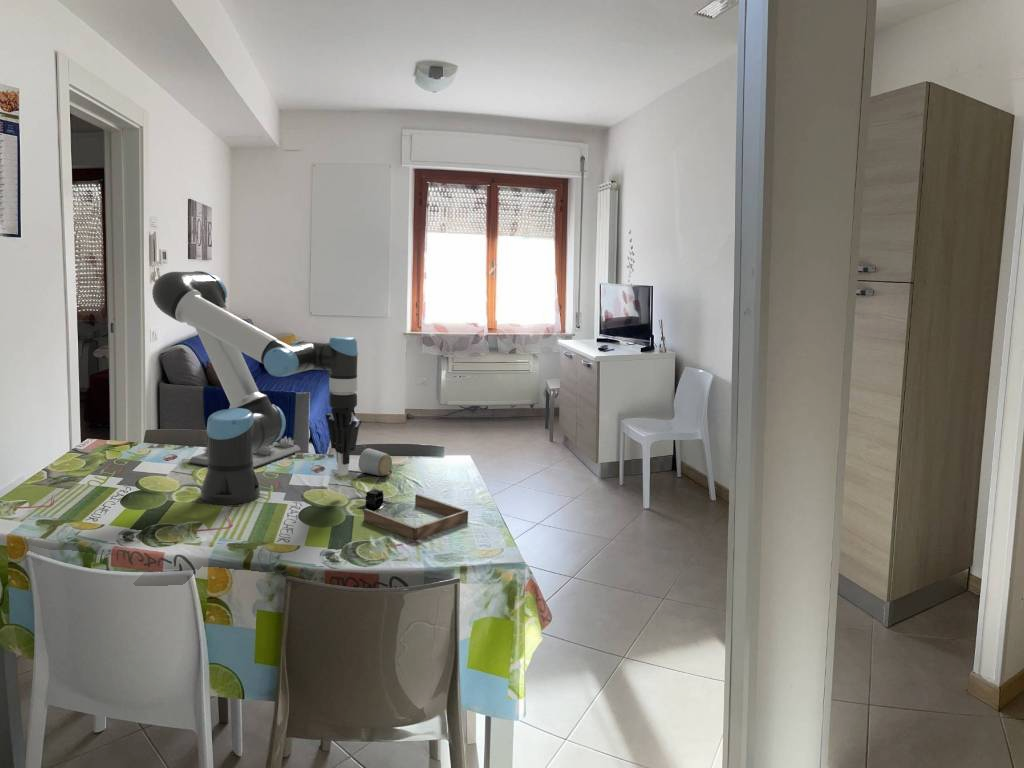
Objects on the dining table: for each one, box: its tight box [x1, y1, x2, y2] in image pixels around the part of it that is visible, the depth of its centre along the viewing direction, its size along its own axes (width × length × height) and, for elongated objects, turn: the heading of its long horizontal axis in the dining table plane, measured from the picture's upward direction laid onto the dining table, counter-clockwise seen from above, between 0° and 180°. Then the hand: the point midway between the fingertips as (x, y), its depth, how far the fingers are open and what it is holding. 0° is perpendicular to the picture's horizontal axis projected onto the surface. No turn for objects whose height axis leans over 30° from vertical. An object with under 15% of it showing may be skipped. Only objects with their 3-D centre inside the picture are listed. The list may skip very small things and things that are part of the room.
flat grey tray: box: [189, 436, 302, 469], centre depth 242 cm, size 30×22×7 cm
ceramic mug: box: [358, 447, 394, 477], centre depth 232 cm, size 11×8×8 cm
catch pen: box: [363, 493, 469, 541], centre depth 192 cm, size 19×19×3 cm
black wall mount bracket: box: [356, 488, 393, 512], centre depth 202 cm, size 12×7×5 cm, turn 154°
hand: (343, 474), depth 210 cm, fingers closed
